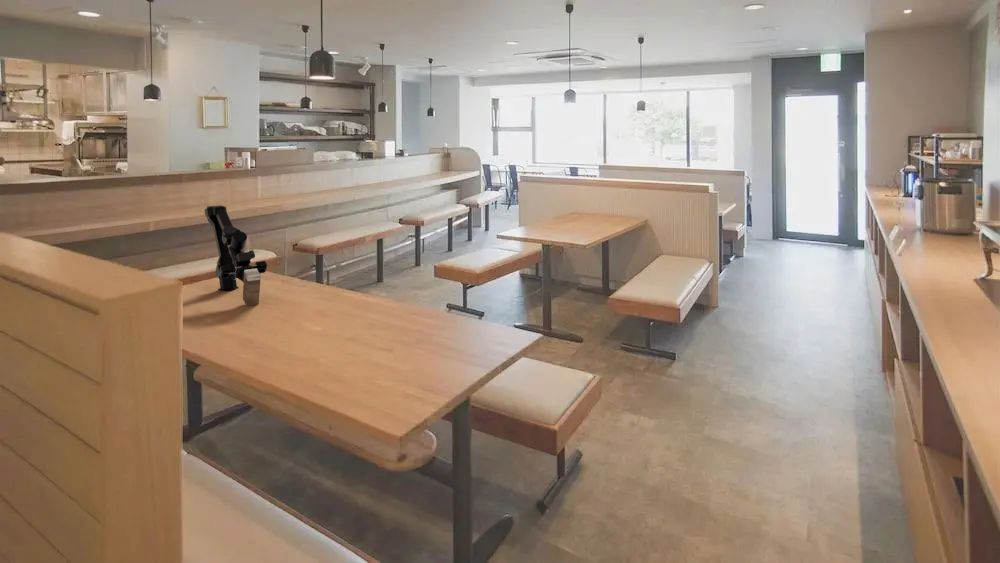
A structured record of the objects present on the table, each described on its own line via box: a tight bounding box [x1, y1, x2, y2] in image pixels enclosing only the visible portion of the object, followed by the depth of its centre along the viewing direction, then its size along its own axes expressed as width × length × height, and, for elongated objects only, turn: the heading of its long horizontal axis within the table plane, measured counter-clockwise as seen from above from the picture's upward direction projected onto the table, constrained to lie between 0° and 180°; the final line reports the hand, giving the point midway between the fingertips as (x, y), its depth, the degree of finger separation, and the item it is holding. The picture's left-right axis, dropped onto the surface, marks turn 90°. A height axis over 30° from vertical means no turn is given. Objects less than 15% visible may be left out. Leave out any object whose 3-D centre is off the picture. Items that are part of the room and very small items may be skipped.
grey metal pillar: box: [242, 268, 262, 307], centre depth 259 cm, size 5×5×15 cm
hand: (249, 285), depth 262 cm, fingers closed
